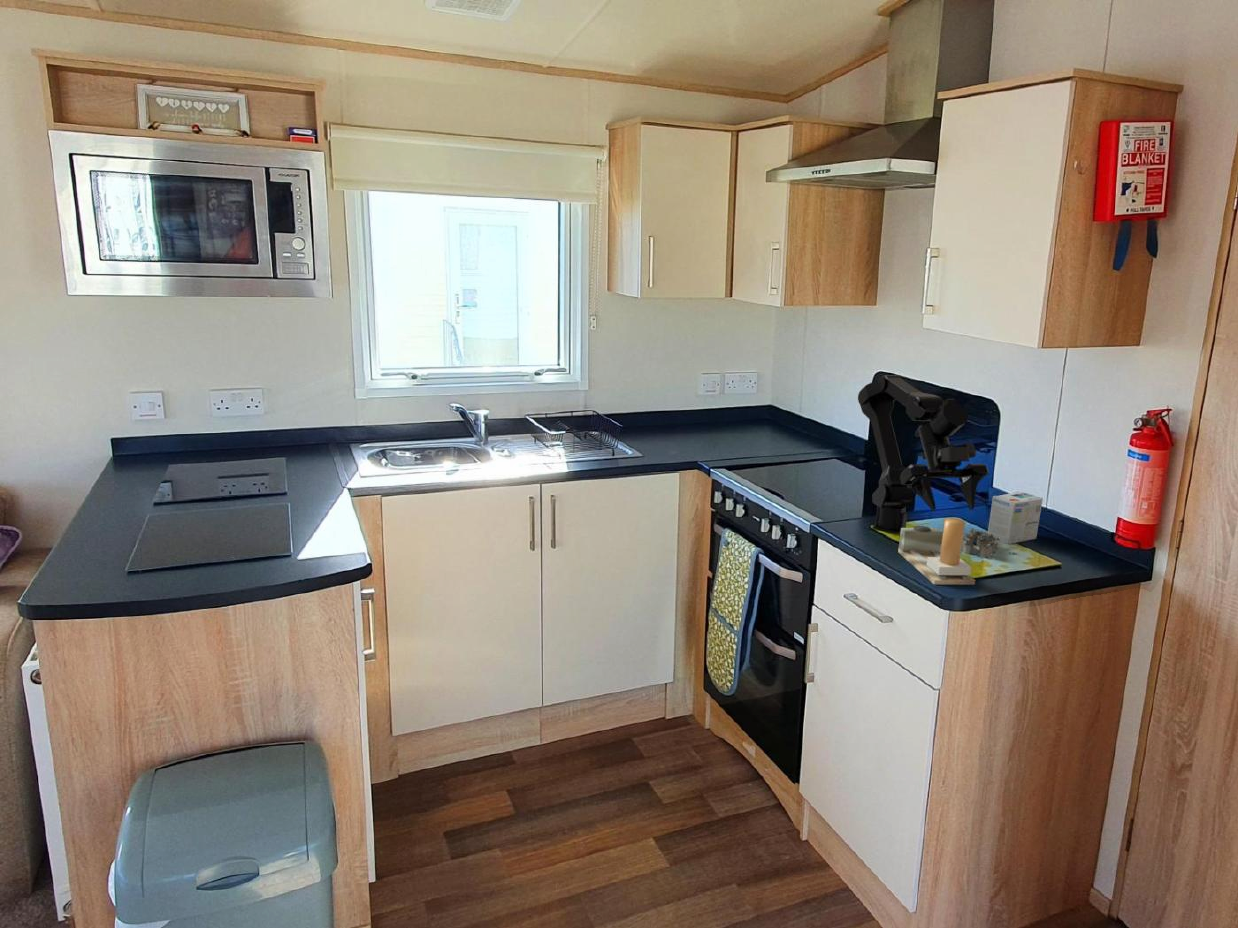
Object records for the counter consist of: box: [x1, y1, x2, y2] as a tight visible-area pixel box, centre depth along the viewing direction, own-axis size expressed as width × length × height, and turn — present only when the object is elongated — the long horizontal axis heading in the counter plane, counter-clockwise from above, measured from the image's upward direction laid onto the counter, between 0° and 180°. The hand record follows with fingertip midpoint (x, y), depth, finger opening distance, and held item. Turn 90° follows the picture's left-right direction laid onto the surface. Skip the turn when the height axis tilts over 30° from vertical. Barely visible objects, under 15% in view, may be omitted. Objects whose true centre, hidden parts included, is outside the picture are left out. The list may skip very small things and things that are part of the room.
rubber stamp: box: [927, 517, 972, 576], centre depth 184 cm, size 6×7×11 cm
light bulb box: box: [987, 491, 1043, 545], centre depth 213 cm, size 11×7×11 cm, turn 118°
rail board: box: [897, 525, 976, 585], centre depth 192 cm, size 20×9×6 cm, turn 4°
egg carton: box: [961, 528, 1001, 558], centre depth 205 cm, size 11×8×4 cm
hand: (953, 509), depth 189 cm, fingers open, 9 cm apart
